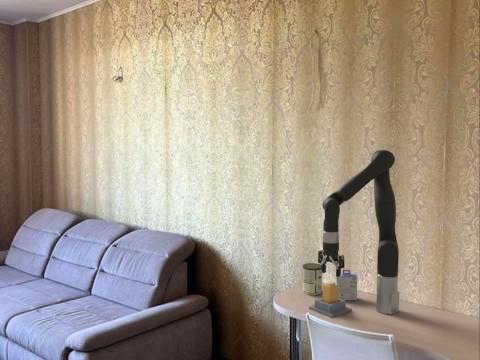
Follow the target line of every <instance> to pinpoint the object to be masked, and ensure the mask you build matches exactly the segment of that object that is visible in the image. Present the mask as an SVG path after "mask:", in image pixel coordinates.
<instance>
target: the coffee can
mask: <svg viewBox="0 0 480 360" xmlns="http://www.w3.org/2000/svg"><path fill="white" fill-rule="evenodd" d="M322 289H323V273H322V271H321V264H320V263H314V262H309V263H304V264H302V293H303V294H306V295H310V296H317V295H320V294H322Z"/></svg>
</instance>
